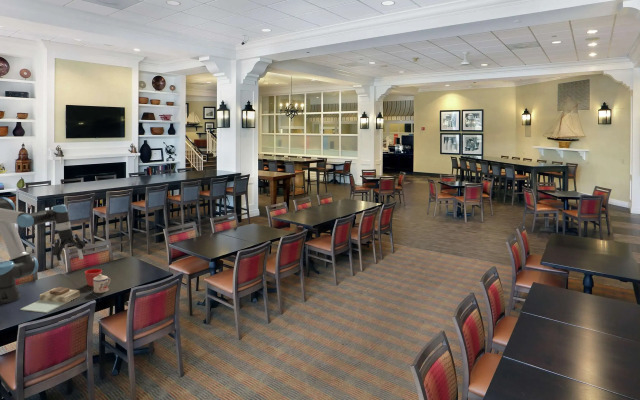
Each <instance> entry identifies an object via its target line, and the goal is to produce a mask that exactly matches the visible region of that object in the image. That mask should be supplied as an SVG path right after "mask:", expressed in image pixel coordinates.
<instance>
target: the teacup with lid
mask: <svg viewBox="0 0 640 400" xmlns="http://www.w3.org/2000/svg"><path fill="white" fill-rule="evenodd" d="M93 283H94V286H93V293H96V294H103V293H106V292H108V291H109V285H110V283H111V278H110V277H108V276H107V275H103V273H102V274H99V276H97V277H95V278H93Z"/></svg>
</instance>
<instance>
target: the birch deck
mask: <svg viewBox="0 0 640 400" xmlns="http://www.w3.org/2000/svg"><path fill="white" fill-rule="evenodd" d="M55 288H56V287H54V288H52V289H50V290H47V291H45V292H43V293H41V294H39V300H45V301H54V302H63V303H65V304H64V305H66V304H68V303H69V302H71V300H72V301H73V299H74V300H76V299H77V298H79V297H80V296H81V294H80V290H78V289H70V288H69V290H70V291H69V292H67V293H65V294H63V295H54V294H50V291H51V290H53V289H55Z"/></svg>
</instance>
